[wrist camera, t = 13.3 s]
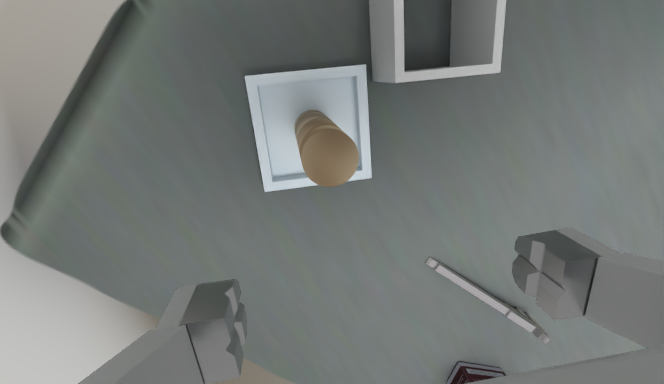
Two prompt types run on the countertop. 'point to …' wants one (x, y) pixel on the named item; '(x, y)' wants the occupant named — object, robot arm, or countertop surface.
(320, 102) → the tray
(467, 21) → the white open box
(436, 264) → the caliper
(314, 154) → the dowel
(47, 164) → the countertop surface
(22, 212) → the countertop surface
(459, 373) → the supplement box
